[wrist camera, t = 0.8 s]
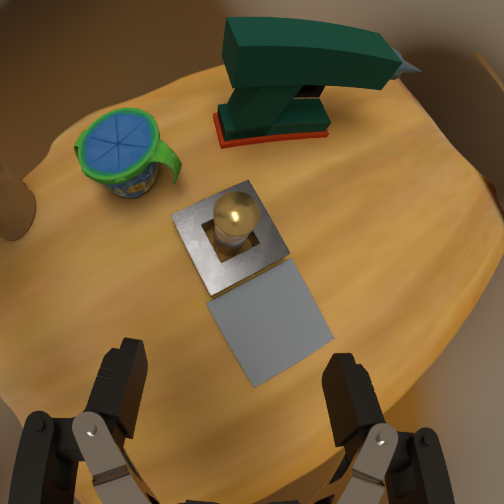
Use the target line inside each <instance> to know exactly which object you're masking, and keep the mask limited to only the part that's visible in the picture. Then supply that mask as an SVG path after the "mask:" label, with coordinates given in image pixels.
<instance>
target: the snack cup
mask: <svg viewBox="0 0 504 504" xmlns="http://www.w3.org/2000/svg"><path fill="white" fill-rule="evenodd" d="M74 150H75V153H76V156H77V158H78V160H79V163H80V165H81V167H82V172H83V173H84V174H85V175H86V176H87V177H90V178H91V179H93V180H94V181H96V182H99V183H101V184H103V185H104V186H105V187H107V188H108V189H109V190H111V191H112V192H113V193H115V194H116V195H118V196H120V197H123V198H136V197H140V196H141V195H142V194H144V193H145V192H147V191H148V190H149V189H150V188H151V187H152V185H153V184H154V183H155V181H156V178H157V172H158V162H160V163H163V164H164V165H165V166H166V167H168V168H169V169H170V170H172V171H173V184H175V182H176V180H177V177H178V175H179V172H180V169H181V166H182V164H181V161H180V160H179V158H178V157H177V155H176V154H175V152H174V151H173V150H172V149H171V148H170V147H169V146H168V145H167V144H165V143H164V142H163V141H162V140H160V133H159V129H158V125H157V123H156V121H155V119H154V117H153V116H152V115H150V114H149V113H147V112H145V111H143V110H141V109H138V108H121V109H116V110H113V111H111V112H108V113H106V114H104V115H103V116H101V117H100V118H98V119H97V120H96V121H94V122H93V123H92V124H91V125H90V127H89V128H88V129H86V130H84V131H83V132H82V133H81V134H80V136H79V137H78V139H77V141H76V143H75V145H74Z"/></svg>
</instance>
